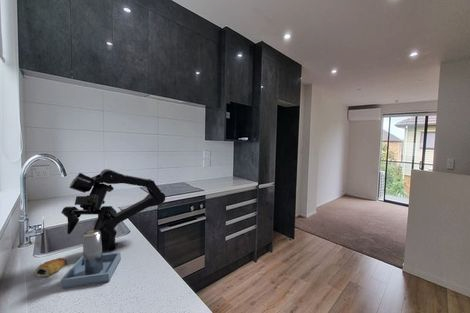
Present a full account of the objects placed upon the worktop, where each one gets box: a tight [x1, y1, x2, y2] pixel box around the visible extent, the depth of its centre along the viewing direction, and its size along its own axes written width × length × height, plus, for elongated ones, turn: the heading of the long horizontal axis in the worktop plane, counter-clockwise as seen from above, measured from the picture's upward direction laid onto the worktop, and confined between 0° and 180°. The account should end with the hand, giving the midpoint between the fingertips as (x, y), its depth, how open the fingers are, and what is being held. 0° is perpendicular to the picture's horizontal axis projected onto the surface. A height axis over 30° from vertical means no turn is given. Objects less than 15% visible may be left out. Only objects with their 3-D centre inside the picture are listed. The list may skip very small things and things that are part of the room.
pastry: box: [33, 257, 67, 278], centre depth 80 cm, size 9×7×4 cm
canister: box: [81, 229, 103, 275], centre depth 77 cm, size 6×6×15 cm
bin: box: [60, 252, 122, 289], centre depth 78 cm, size 14×14×3 cm
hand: (81, 233), depth 80 cm, fingers open, 9 cm apart
